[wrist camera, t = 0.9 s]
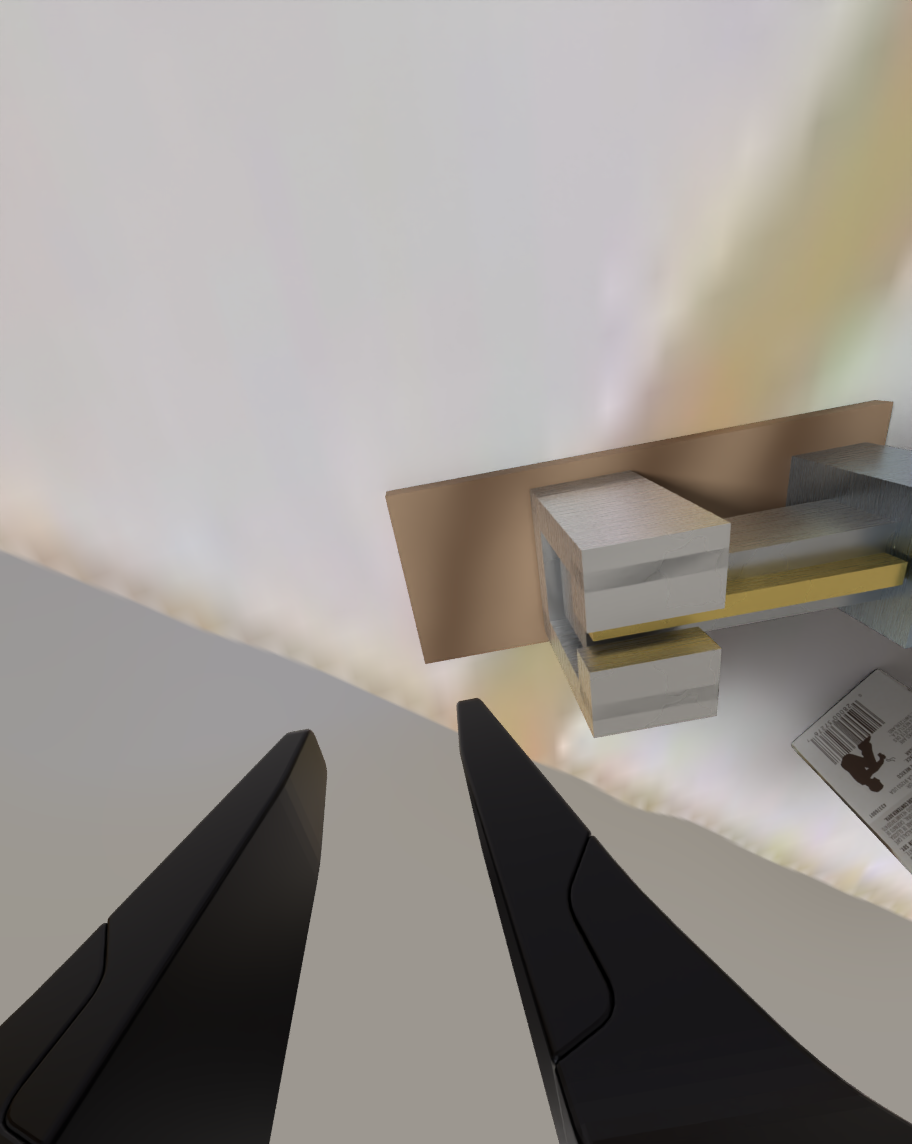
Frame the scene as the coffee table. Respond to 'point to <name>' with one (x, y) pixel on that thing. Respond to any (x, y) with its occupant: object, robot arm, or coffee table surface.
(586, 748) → the coffee table surface
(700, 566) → the grey slotted block
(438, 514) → the board
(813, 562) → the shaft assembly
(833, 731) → the coffee box
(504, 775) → the robot arm
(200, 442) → the coffee table surface
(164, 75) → the coffee table surface
